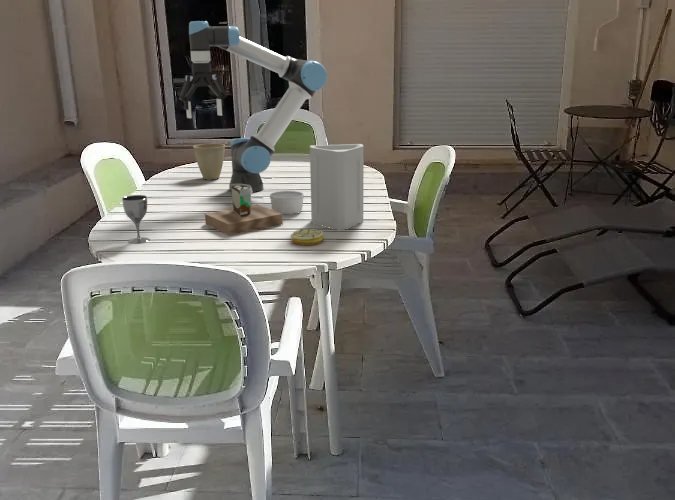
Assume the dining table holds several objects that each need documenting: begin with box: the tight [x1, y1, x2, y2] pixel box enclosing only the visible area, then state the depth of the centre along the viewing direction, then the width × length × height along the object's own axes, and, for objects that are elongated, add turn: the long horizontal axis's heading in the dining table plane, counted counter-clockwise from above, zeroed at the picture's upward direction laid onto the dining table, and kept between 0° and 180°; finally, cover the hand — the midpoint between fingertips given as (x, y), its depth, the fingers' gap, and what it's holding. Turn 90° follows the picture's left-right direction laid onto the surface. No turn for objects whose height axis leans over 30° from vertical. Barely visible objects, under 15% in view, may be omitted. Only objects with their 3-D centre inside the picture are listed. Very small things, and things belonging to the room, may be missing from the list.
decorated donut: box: [290, 228, 324, 246], centre depth 226 cm, size 10×11×4 cm
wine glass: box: [121, 194, 151, 245], centre depth 227 cm, size 8×8×15 cm
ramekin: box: [269, 190, 305, 215], centre depth 264 cm, size 13×13×7 cm
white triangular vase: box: [309, 143, 365, 231], centre depth 242 cm, size 19×15×28 cm
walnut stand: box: [204, 204, 284, 236], centre depth 247 cm, size 22×18×4 cm
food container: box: [231, 184, 254, 217], centre depth 246 cm, size 12×6×10 cm, turn 24°
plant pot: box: [192, 142, 226, 181], centre depth 324 cm, size 15×15×16 cm
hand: (204, 116), depth 273 cm, fingers open, 13 cm apart
